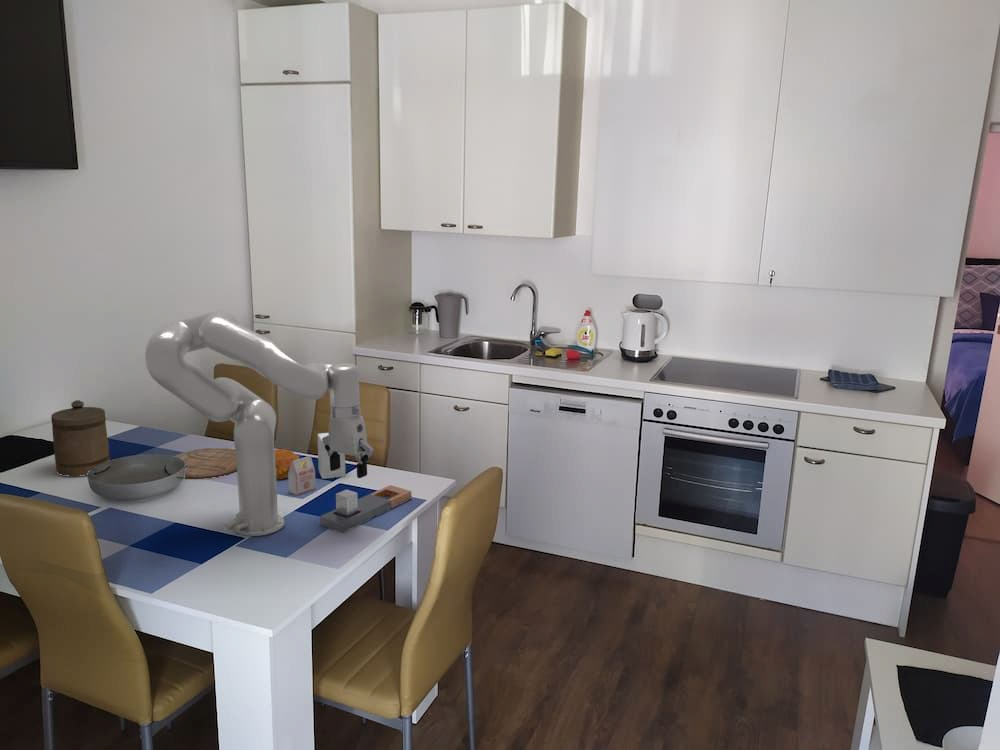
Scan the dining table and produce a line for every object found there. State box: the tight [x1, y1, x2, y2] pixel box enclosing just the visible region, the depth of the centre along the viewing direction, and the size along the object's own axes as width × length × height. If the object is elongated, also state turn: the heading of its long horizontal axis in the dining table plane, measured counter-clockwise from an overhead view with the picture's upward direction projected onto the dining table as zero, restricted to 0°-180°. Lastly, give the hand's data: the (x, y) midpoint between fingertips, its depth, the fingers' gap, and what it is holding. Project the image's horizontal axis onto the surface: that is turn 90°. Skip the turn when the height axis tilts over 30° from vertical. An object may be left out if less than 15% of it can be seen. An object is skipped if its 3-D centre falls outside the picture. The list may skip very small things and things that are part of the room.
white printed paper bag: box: [287, 455, 316, 496], centre depth 226 cm, size 4×7×10 cm, turn 141°
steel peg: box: [335, 489, 359, 518], centre depth 206 cm, size 4×4×8 cm
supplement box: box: [317, 432, 346, 480], centre depth 240 cm, size 7×7×13 cm
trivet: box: [173, 447, 237, 480], centre depth 246 cm, size 25×25×2 cm
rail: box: [319, 484, 412, 533], centre depth 213 cm, size 28×8×2 cm, turn 147°
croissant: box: [275, 448, 300, 481], centre depth 241 cm, size 14×16×8 cm
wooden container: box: [50, 399, 111, 477], centre depth 237 cm, size 15×15×22 cm
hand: (348, 473), depth 204 cm, fingers open, 9 cm apart
